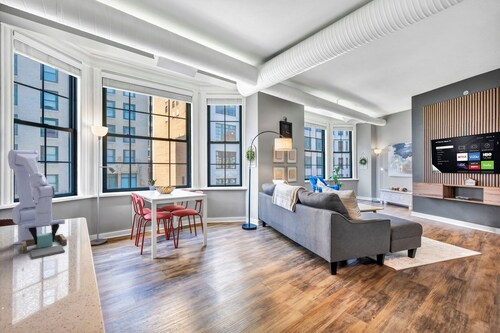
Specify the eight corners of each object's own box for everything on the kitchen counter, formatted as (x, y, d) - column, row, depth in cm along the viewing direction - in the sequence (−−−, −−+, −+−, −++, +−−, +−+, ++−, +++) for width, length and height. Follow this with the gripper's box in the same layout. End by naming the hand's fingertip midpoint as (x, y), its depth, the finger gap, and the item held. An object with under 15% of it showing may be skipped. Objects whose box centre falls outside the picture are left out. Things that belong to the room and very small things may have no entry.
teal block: (36, 245, 108) (36, 234, 108) (51, 243, 111) (50, 232, 111) (37, 248, 104) (37, 236, 104) (52, 245, 108) (52, 234, 108)
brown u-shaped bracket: (21, 246, 108) (21, 240, 108) (62, 238, 118) (62, 233, 118) (23, 253, 98) (22, 247, 98) (66, 244, 108) (66, 239, 108)
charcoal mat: (30, 252, 99) (30, 250, 99) (61, 246, 106) (61, 244, 106) (32, 259, 92) (32, 257, 92) (64, 252, 99) (64, 250, 99)
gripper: (22, 216, 100) (22, 248, 100) (65, 211, 110) (66, 240, 110) (21, 213, 105) (22, 244, 105) (63, 209, 115) (63, 237, 115)
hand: (44, 242), depth 108 cm, fingers closed on teal block, 5 cm apart
